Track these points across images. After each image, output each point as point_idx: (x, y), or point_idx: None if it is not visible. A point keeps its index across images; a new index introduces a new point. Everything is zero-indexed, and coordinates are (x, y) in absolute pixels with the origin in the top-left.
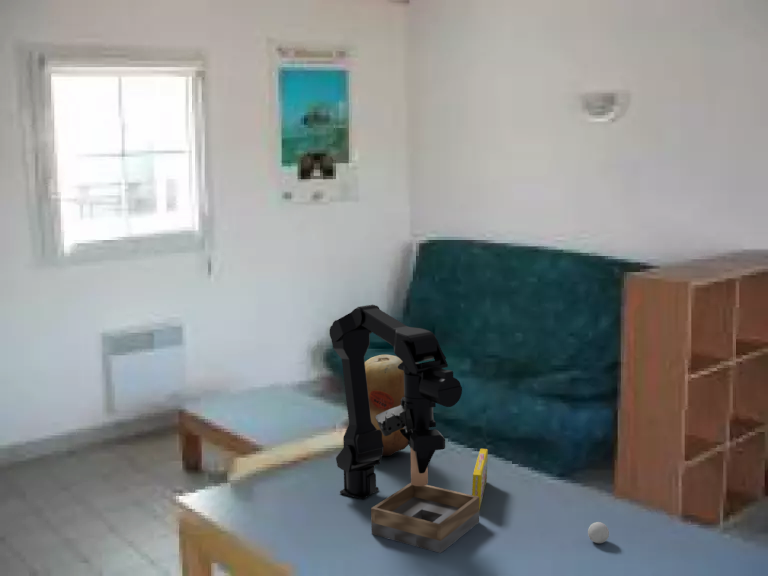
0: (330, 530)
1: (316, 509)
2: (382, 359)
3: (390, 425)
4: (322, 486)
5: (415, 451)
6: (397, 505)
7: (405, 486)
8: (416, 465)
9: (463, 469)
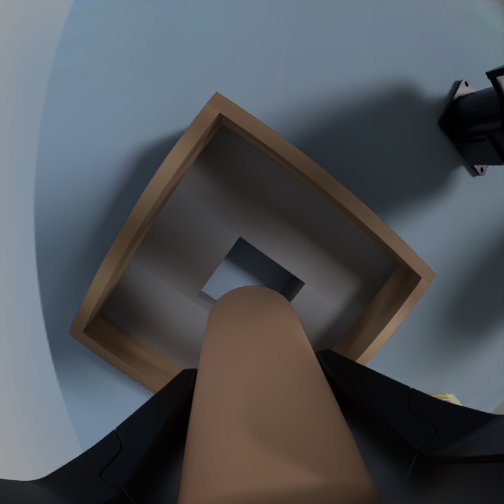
0: (258, 17)
1: (383, 9)
2: None
3: None
4: (486, 60)
5: (80, 481)
6: (331, 204)
7: (406, 246)
8: (198, 383)
9: (499, 361)
